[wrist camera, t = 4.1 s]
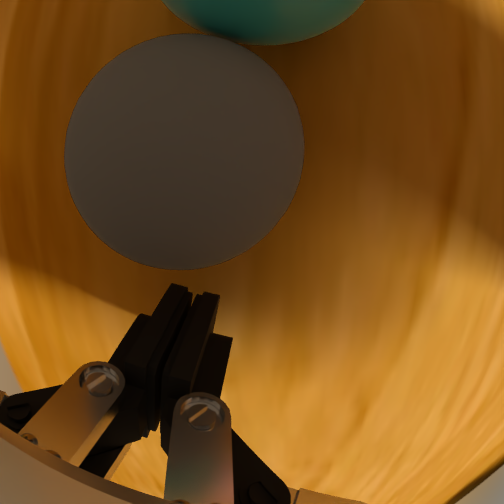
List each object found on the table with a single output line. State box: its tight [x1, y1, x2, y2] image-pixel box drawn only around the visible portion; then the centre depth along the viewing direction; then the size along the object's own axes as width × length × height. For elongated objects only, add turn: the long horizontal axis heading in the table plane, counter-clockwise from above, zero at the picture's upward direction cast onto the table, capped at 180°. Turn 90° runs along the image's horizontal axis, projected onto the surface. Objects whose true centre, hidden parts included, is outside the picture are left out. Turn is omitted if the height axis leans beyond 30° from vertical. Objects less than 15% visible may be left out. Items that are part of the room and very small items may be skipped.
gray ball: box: [64, 34, 304, 270], centre depth 7 cm, size 6×6×6 cm
